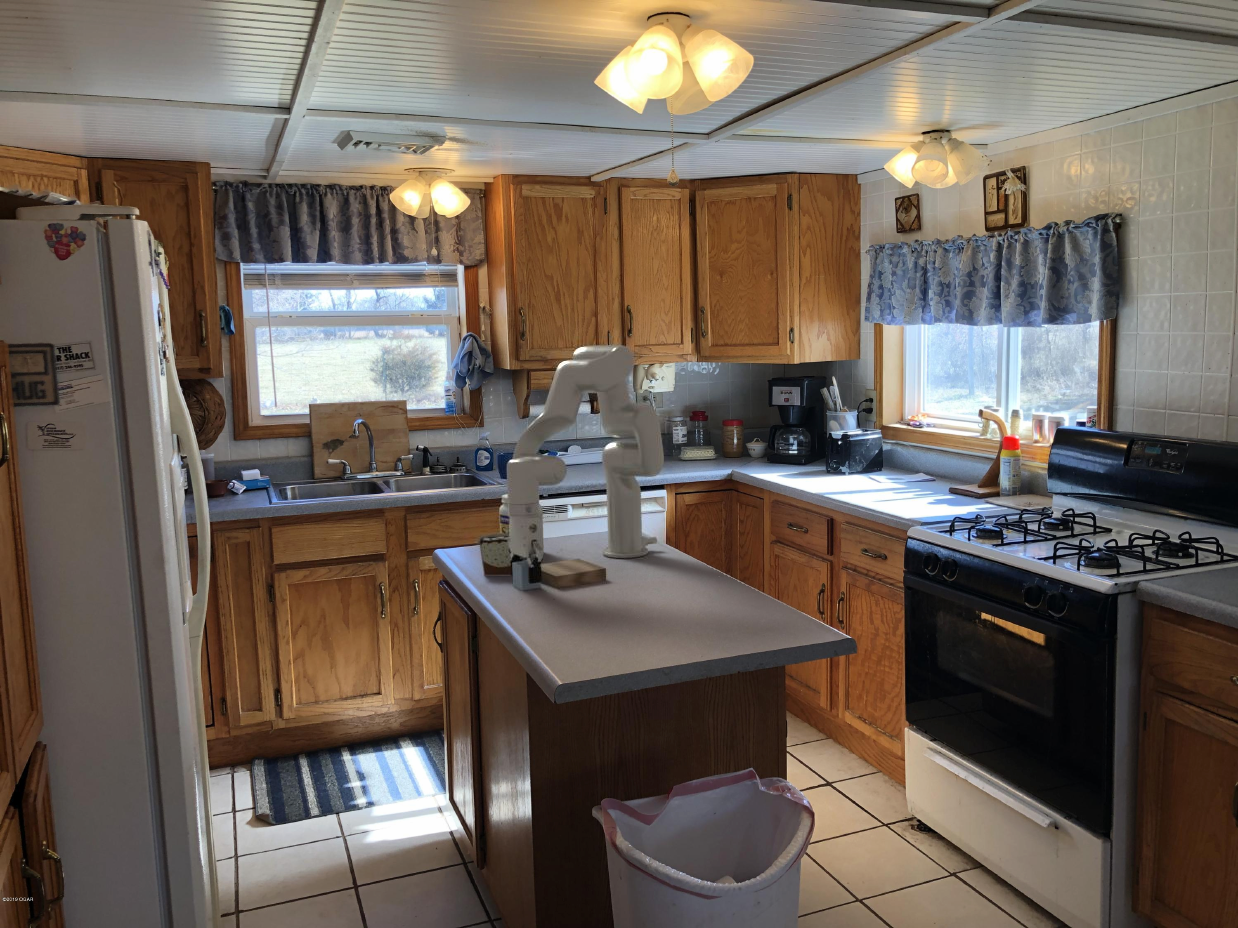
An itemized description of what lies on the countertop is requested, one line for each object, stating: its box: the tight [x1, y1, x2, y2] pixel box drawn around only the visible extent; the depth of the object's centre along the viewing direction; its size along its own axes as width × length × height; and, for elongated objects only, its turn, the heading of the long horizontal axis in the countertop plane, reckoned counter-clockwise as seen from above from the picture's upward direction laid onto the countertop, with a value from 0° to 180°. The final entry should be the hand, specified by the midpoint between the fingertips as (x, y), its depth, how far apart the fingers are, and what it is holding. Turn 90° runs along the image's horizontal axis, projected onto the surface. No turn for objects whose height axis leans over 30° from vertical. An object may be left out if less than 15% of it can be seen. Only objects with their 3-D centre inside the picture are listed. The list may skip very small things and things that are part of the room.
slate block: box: [512, 559, 542, 591], centre depth 242 cm, size 5×5×6 cm
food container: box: [476, 532, 523, 577], centre depth 257 cm, size 12×6×10 cm, turn 84°
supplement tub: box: [498, 493, 545, 559], centre depth 279 cm, size 12×12×17 cm
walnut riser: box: [541, 558, 607, 589], centre depth 249 cm, size 14×14×3 cm
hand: (526, 578), depth 241 cm, fingers open, 9 cm apart
